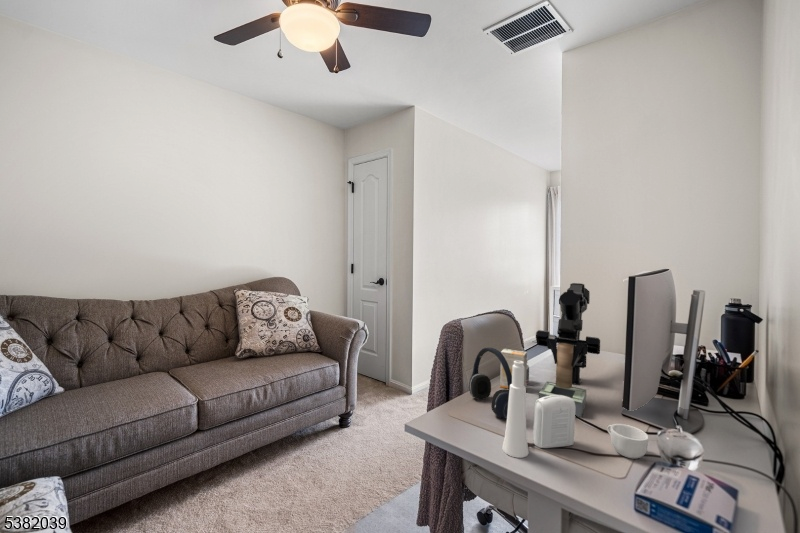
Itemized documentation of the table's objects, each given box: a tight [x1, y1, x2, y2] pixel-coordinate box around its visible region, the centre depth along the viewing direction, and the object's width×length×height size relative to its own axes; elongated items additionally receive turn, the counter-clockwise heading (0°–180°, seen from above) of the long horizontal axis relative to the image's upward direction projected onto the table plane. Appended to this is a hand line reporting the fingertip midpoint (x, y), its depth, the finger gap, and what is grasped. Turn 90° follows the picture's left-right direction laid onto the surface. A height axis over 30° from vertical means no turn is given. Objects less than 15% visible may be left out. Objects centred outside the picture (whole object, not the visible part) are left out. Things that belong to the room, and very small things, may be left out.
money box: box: [538, 381, 587, 419], centre depth 112 cm, size 12×12×4 cm
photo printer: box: [532, 395, 576, 449], centre depth 89 cm, size 10×4×12 cm, turn 103°
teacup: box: [606, 423, 649, 460], centre depth 87 cm, size 10×8×5 cm
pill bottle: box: [526, 364, 530, 385], centre depth 131 cm, size 5×5×9 cm
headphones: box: [468, 347, 512, 419], centre depth 109 cm, size 20×7×18 cm, turn 18°
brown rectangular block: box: [555, 343, 574, 389], centre depth 112 cm, size 5×5×13 cm
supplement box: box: [499, 348, 528, 390], centre depth 126 cm, size 8×5×13 cm, turn 58°
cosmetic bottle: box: [501, 360, 529, 459], centre depth 85 cm, size 6×6×22 cm
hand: (564, 364), depth 110 cm, fingers closed on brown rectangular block, 5 cm apart
